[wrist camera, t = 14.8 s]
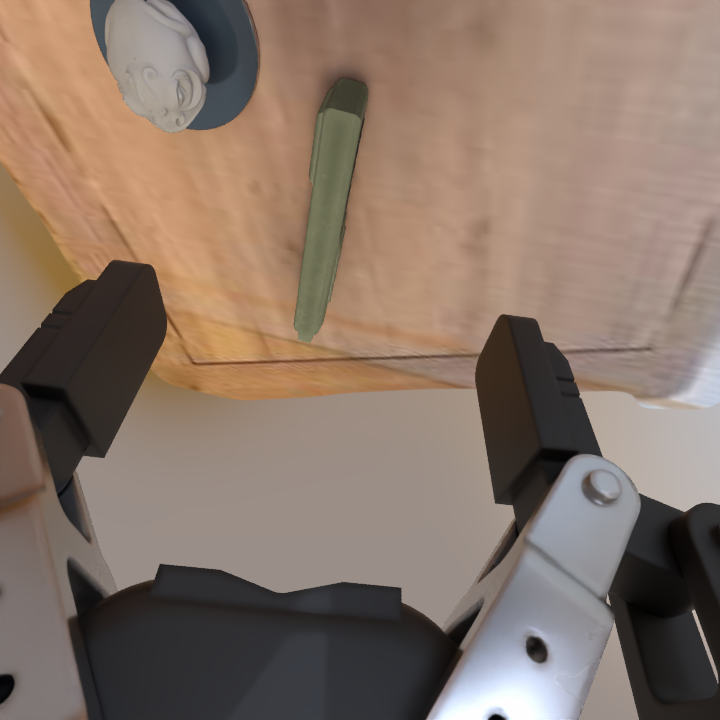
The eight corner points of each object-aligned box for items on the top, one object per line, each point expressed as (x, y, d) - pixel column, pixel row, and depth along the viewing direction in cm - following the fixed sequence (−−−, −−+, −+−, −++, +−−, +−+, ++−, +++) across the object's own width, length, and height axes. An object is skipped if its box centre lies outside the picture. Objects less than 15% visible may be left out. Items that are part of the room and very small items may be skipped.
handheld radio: (376, 86, 32) (324, 332, 50) (331, 73, 31) (295, 325, 49) (368, 118, 27) (314, 376, 45) (315, 104, 27) (282, 369, 45)
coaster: (69, -86, 26) (63, -86, 26) (256, -52, 27) (254, -51, 26) (119, 115, 34) (115, 118, 34) (262, 137, 35) (260, 140, 34)
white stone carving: (164, 112, 33) (126, 150, 28) (108, -6, 28) (50, 16, 23) (239, 94, 32) (212, 131, 27) (194, -31, 27) (152, -13, 22)
